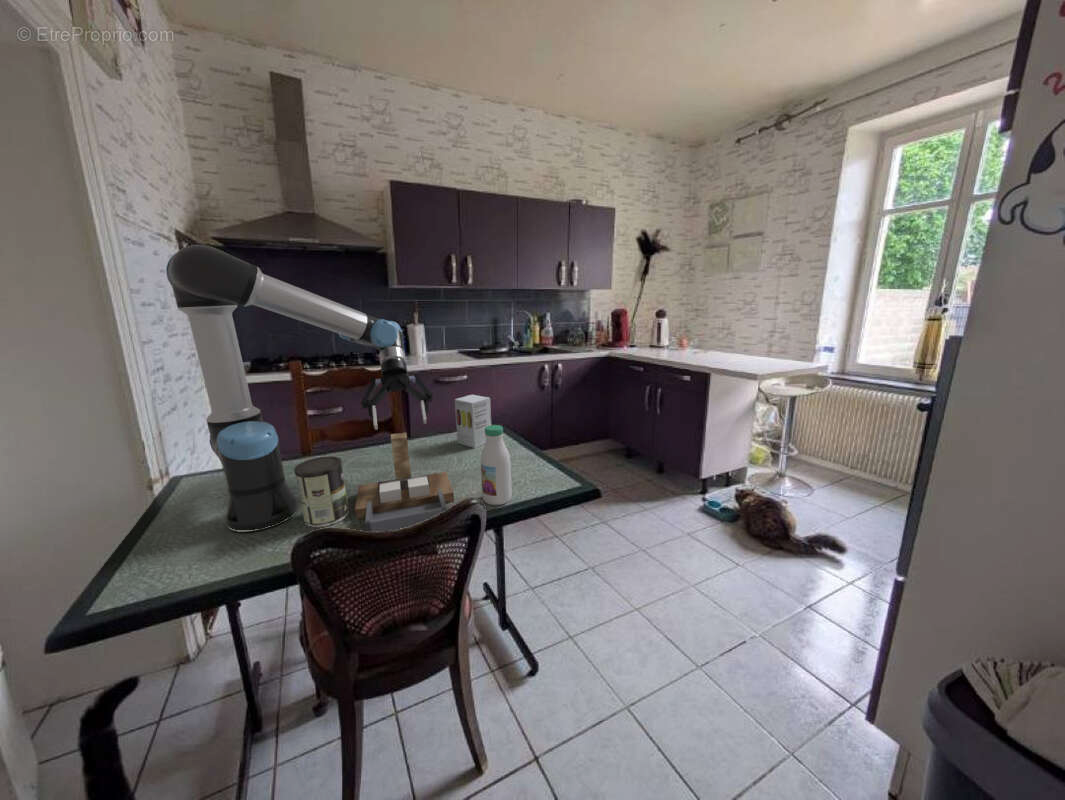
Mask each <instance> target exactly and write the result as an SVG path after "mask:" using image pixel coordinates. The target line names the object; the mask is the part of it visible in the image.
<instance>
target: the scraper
mask: <svg viewBox="0 0 1065 800" xmlns="http://www.w3.org/2000/svg"><path fill="white" fill-rule="evenodd" d="M390 443H391V451H392V458H393V467H394V474H395V479H390V480H384V481H383V480H382V481H378V482H377V483H378V488H379V491H380V484H383V483H390V482H396V481H400V487H401V490H402V489H408V488H409V487H408V479H415V478H421V477H427V479H428V483H429V476H428V475H429V474H428V473H427V474H422V475H421V474H420V475H415V476H412V470H411V464H410V454H409V453H410V452H409V443H408V436H407V432H400V433H393V434H390Z"/></svg>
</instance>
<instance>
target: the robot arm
mask: <svg viewBox="0 0 1065 800" xmlns="http://www.w3.org/2000/svg"><path fill="white" fill-rule="evenodd" d="M165 271H166V278H167V280H168V282H169V283H170V285H171V288H172V292H173V295H174V298H175V299H174V300H175V304H176V306H177V309H178V310H179V311H181V312H182V313H184V314H185V315H186V316H187V318H188V322H189V325H190V329H191V333H192V338H193V342H194V345H195V349H196V352H197V356H198V357H197V358H198V361H199V365H200V369H201V373H202V377H203V381H204V385H205V389H206V392H207V397H208V400H209V405H210V409H211V413H210V414H209V415H207V417H206V419H205V420H206V424H207V429H208V431H209V433H208V434H209V444H210V448H211V449H212V451H213V453H214V454H215V455H216V456H217V458H218V459H219V461H220V463H221V465H222V468H223V471H224V475H225V476H224V477H225V481H226V485H227V490H228V493H229V498H228V504H227V510H226V514H225V515H226V516H225V521H226V526H227V525H228V526H229V527H230V528H232V529H235V530H255V529H262V528H265V527H268V526H272V525H275V524H277V523H280V522H282V521H284V520H285V519H287V518H289V517H291V516H292V515H293V514H294V513H295V512H296V511H297V509H298V506H299V502H298V498H297V497H296V495H295V494H294V492H293V490H292V489H291V488H290V486H289V484H288V483H287V481H286V477H285V471H284V466H283V461H282V455H281V451H280V446H279V445H280V444H279V435H278V434H277V431H276V428H275V427H274V426H273V425H272V424H271V423H269V422H265V421H263V417H262V412H261V411H262V410H261V409H259V408H258V407H256V406H254V405H253V403H252V399H251V393H250V388H249V385H248V380H247V377H246V371H245V366H244V362H243V358H242V353H241V349H240V345H239V340H238V335H237V330H236V326H235V321H234V318H233V312H234V311H235V310H236V309H237V308H238V305H239V306H242V307H248V306H255V307H259V308H262V309H265V310H268V311H271V312H273V313H277V314H279V315H283V316H285V317H288V318H291V319H294V320H298V321H300V322H303V323H306V324H309V325H312V326H316V327H319V328H321V329H325V330H327V331H330V332H334V333H336V334H338V336H339V337H340V338H341V339H343V340H346V341H349V342H353V343H356V344H360V345H363V346H367V347H371V348H375V349H377V350H378V351H379V361H380V362H379V363H380V370H381V378H376V377H375V376H372V377H371V378H370V384H369V386H368V388H367V390H366V392H365V394H364V396H363V398H362V400H361V402H360V404H361V408H362V409H363V410H364V409H367V410H368V417H369V419H371V420H372V419H373V428H374V431H377V430H378V420H377V408H376V407H377V405H378V404H379V403H380V402H381V400H382V399H383V398H384V397H385V395H387V394H388V393H389V392H391V393H395V392H403V390H404V391H405V392H407V393H409V394H410V395H412V396H413V397H414V398H416V399H417V400H418V401H420V407H421V414H422V421H423V424H427V415H426V413H429V412H430V411H429V410H430V409H429V408H430V407H429V402H433V401H434V395H433V394H432V392H431V391H430V389H428V387H427V386H426V385H425V384H424V383H423V381H422V380H421V379H420V375H419V373H414V375H409V374H408V367H407V360H406V355H405V346H404V338H403V337H404V336H403V332H402V328H401V326H400V324H398V322H396V321H394V320H386V319H383V318H382V319H381V318H380V319H379V318H377V317H374V316H372V315H369V314H366V313H365V312H362V311H359V310H357V309H354V308H352V307H349V306H346V305H344V304H341V303H339V302H336V301H333V300H331V299H329V298H326V297H323V296H320V295H318V294H315V293H313V292H310V291H308V290H306V289H303V288H301V287H298V286H295V285H292V284H290V283H288V282H285V281H283V280H280V279H277V278H275V277H272V276H270V275H267V274H264V273H263V272H262V270H261V269H260V267H258V266H257V265H254V264H251V263H249V262H246V261H244V260H242V259H241V258H238V257H235V256H233V255H231V254H229V253H227V252H224V251H223V250H220V249H218V248H216V247H213V246H210V245H206V244H192V245H187V246H183V247H182V248H181V249H179V250H178V251H177V252H176V253H173V255H171V257H170V258H169V260H168V261H167V265H166V269H165ZM410 381H411V382H412V383H413V384H415V386H416V387H417V388H418V389H419V390H420V391H421V392H420V391H419V390H418V389H417V388H415V386H413V385H412V384H411V383H410ZM380 384H381V385H382V386H381V388H380V389H379V390H378V391H377V392H376V393H375V391H376V388H378V386H380ZM374 393H375V394H374ZM373 395H374V396H373ZM298 510H299V509H298ZM297 512H298V511H297ZM291 518H292V517H291ZM228 526H227V527H228Z"/></svg>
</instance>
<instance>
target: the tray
mask: <svg viewBox="0 0 1065 800" xmlns="http://www.w3.org/2000/svg"><path fill="white" fill-rule="evenodd" d="M438 501H439V502H435V503H429V504H424V505H418V506H413V507H407V508H401V509H396V510H390V511H385V512H379V513H374V514H373V508H372V501H370V502H367V509H366V517H365V522H364V525H365V531H389V530H395V529H400V528H404V527H408V526H411V525H414V524H416V523H419V522H422V521H424V520H426V519H429V518H431V517H433V516H435V515H437V514H439V513H441V512H443V511H444V510H446V509H447V510H448V507H447V504H446V503H447V502H446V503H445V500H444V496H443V493H442V490H441V489H440V490H438Z"/></svg>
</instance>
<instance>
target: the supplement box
mask: <svg viewBox="0 0 1065 800" xmlns="http://www.w3.org/2000/svg"><path fill="white" fill-rule="evenodd" d="M454 408H455V409H454V411H455V423H456V438H457V439H456V441H457V444H460V445H462V446H466V447H470V448H472V449H477V448H479V447H481V446H483V445H484V446H485V442H486V437H485V428H486V427H487V426H490V425H492V410H491V409H492V408H491V398H490V397H488V396H481V395H476V394H469V395H465V396H462V397H459V398H455V399H454Z"/></svg>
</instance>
